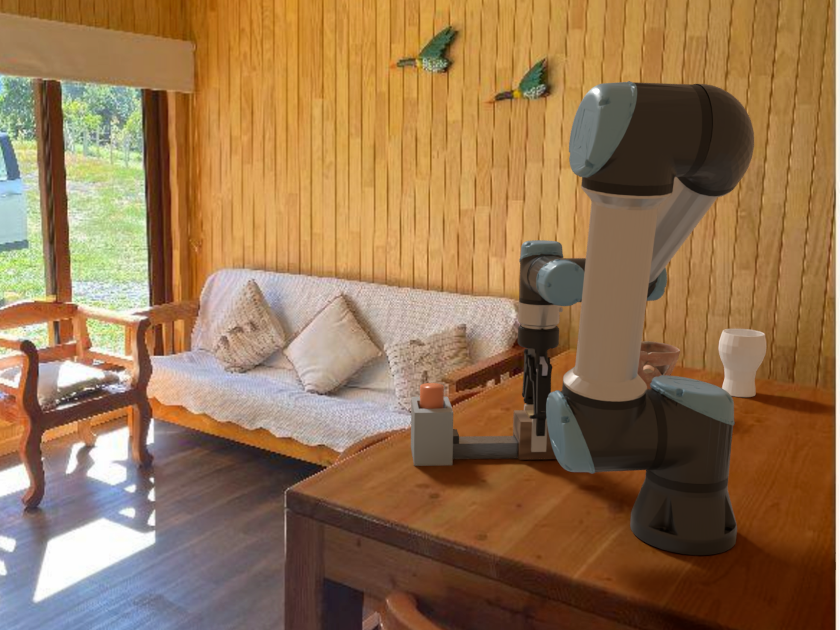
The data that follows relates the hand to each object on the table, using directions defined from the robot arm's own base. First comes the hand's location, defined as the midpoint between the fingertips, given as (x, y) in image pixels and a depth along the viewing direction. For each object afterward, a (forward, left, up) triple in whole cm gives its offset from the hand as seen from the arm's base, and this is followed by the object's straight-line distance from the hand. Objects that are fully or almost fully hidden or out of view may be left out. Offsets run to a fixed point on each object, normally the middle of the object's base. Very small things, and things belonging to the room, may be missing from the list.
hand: (534, 443), depth 155 cm
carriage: (0, 0, -2) cm, 2 cm away
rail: (0, +4, -2) cm, 5 cm away
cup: (+40, -58, -2) cm, 71 cm away
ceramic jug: (+30, -32, -2) cm, 44 cm away
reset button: (0, +20, +5) cm, 20 cm away
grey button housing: (0, +20, -2) cm, 20 cm away
